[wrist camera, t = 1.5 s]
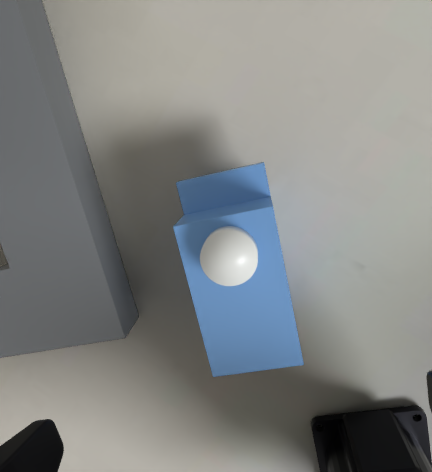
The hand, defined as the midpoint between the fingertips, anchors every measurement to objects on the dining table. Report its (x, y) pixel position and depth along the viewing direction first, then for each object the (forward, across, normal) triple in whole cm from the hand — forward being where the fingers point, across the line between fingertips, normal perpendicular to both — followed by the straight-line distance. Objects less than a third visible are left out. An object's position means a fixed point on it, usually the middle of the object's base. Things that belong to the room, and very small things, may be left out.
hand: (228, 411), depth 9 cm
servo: (+12, 0, 0) cm, 12 cm away
